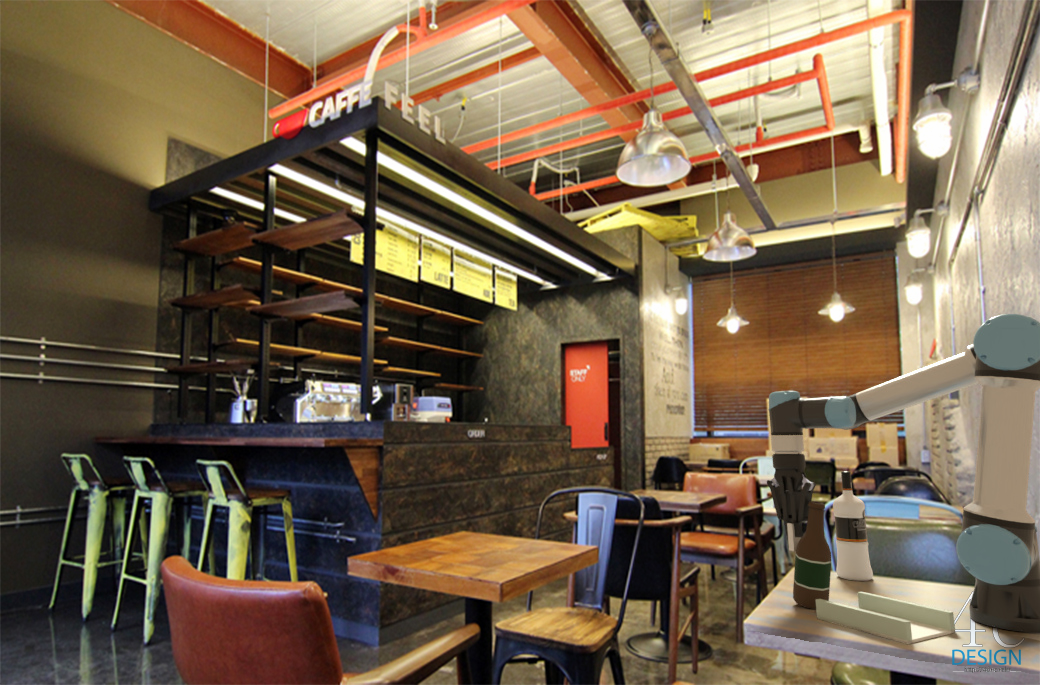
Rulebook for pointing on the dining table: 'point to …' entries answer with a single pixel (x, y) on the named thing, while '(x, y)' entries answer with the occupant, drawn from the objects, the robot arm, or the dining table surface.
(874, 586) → the dining table surface
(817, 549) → the beer bottle
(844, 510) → the vodka
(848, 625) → the rest
